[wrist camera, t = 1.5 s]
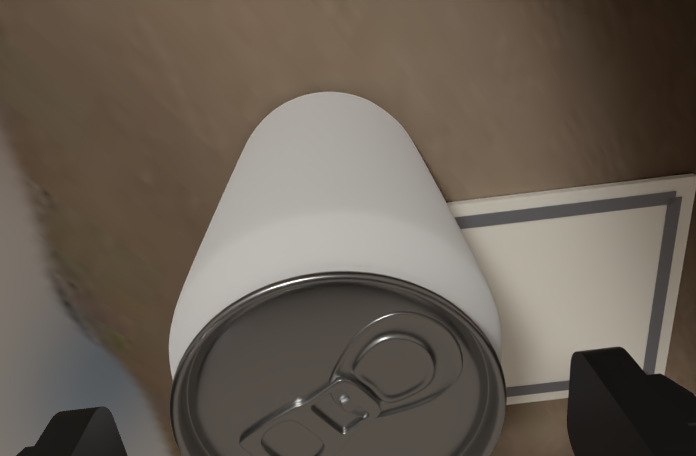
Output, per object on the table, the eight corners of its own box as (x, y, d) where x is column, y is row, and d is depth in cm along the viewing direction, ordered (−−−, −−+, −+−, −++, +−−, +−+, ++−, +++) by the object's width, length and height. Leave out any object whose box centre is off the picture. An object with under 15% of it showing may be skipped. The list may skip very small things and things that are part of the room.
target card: (427, 204, 21) (429, 208, 20) (693, 173, 21) (698, 176, 20) (438, 407, 25) (439, 413, 25) (658, 382, 25) (662, 387, 24)
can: (453, 182, 20) (606, 423, 9) (325, 286, 22) (329, 594, 11) (335, 47, 18) (357, 157, 7) (202, 173, 20) (57, 418, 9)
